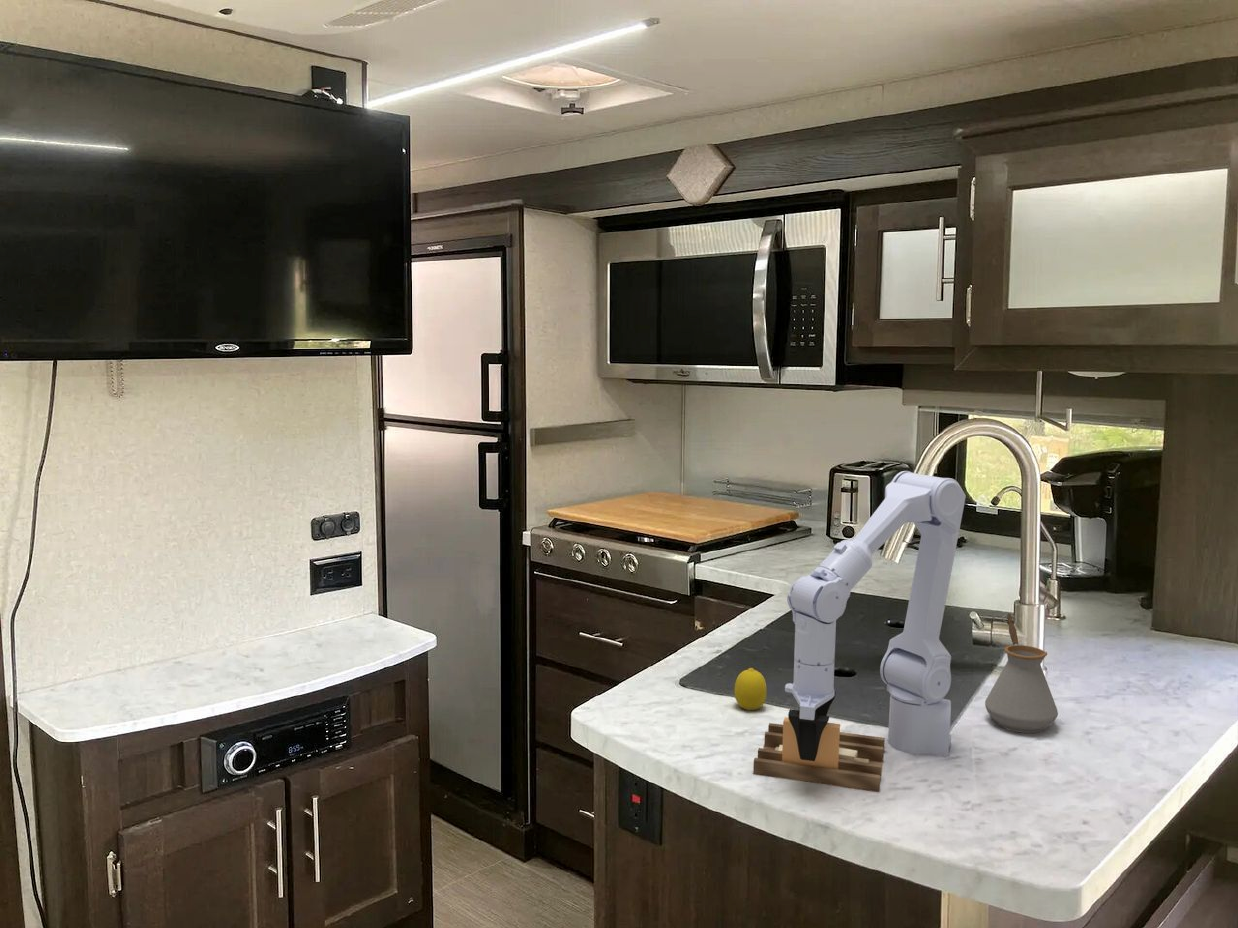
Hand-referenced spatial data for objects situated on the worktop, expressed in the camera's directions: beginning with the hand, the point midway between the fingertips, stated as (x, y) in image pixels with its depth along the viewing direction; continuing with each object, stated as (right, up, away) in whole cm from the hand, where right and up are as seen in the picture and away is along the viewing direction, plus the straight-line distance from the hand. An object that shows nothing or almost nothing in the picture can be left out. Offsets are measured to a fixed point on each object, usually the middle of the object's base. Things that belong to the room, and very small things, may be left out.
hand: (810, 748), depth 145 cm
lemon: (-5, -2, +26) cm, 27 cm away
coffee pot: (+41, -2, +27) cm, 49 cm away
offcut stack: (+2, -3, +5) cm, 6 cm away
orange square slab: (0, -4, +1) cm, 4 cm away
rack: (+3, -4, +6) cm, 8 cm away
